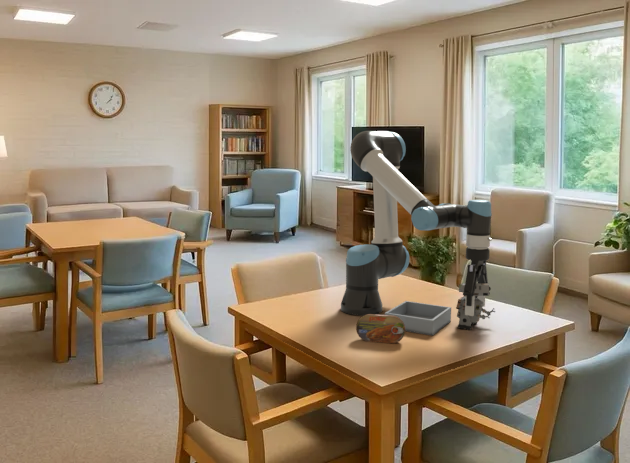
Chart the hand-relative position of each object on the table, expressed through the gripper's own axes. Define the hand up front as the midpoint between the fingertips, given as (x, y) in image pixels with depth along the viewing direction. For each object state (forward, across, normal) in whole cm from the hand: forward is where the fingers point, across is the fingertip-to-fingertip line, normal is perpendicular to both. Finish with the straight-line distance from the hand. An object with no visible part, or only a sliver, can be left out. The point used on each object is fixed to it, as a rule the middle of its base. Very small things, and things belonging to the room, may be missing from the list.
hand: (475, 310), depth 209 cm
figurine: (+6, 0, 0) cm, 6 cm away
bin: (+6, -7, +17) cm, 19 cm away
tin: (+6, -30, +21) cm, 37 cm away
